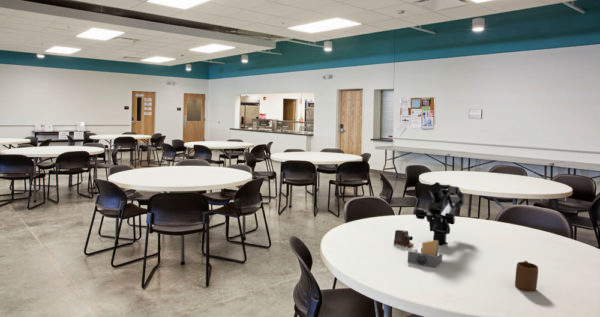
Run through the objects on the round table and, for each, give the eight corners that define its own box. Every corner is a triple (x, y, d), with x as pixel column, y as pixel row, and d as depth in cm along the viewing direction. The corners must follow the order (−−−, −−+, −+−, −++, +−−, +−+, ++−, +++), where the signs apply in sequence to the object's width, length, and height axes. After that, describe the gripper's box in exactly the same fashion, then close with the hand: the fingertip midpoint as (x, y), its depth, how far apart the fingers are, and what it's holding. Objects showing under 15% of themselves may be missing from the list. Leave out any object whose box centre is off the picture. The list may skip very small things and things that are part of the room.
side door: (419, 261, 188) (421, 241, 187) (434, 258, 192) (436, 239, 191) (422, 262, 186) (424, 242, 185) (437, 259, 190) (439, 240, 189)
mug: (513, 278, 171) (515, 257, 170) (533, 282, 168) (536, 260, 167) (515, 289, 160) (517, 266, 159) (537, 293, 157) (539, 270, 156)
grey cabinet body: (414, 255, 196) (415, 245, 196) (441, 260, 190) (442, 250, 189) (406, 262, 186) (407, 251, 186) (435, 268, 180) (436, 257, 179)
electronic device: (409, 248, 207) (410, 233, 206) (393, 243, 213) (393, 229, 213) (414, 246, 210) (414, 232, 209) (397, 242, 216) (398, 228, 216)
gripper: (416, 193, 207) (409, 218, 199) (455, 198, 197) (448, 225, 189) (420, 205, 215) (413, 230, 207) (457, 210, 205) (451, 237, 197)
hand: (430, 230), depth 200 cm, fingers closed
